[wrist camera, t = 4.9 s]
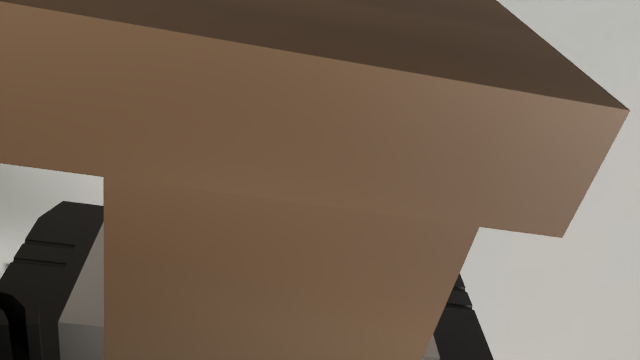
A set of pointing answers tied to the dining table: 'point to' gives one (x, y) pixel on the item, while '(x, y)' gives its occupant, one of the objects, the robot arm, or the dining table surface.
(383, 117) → the wooden arch bridge
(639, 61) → the dining table surface
